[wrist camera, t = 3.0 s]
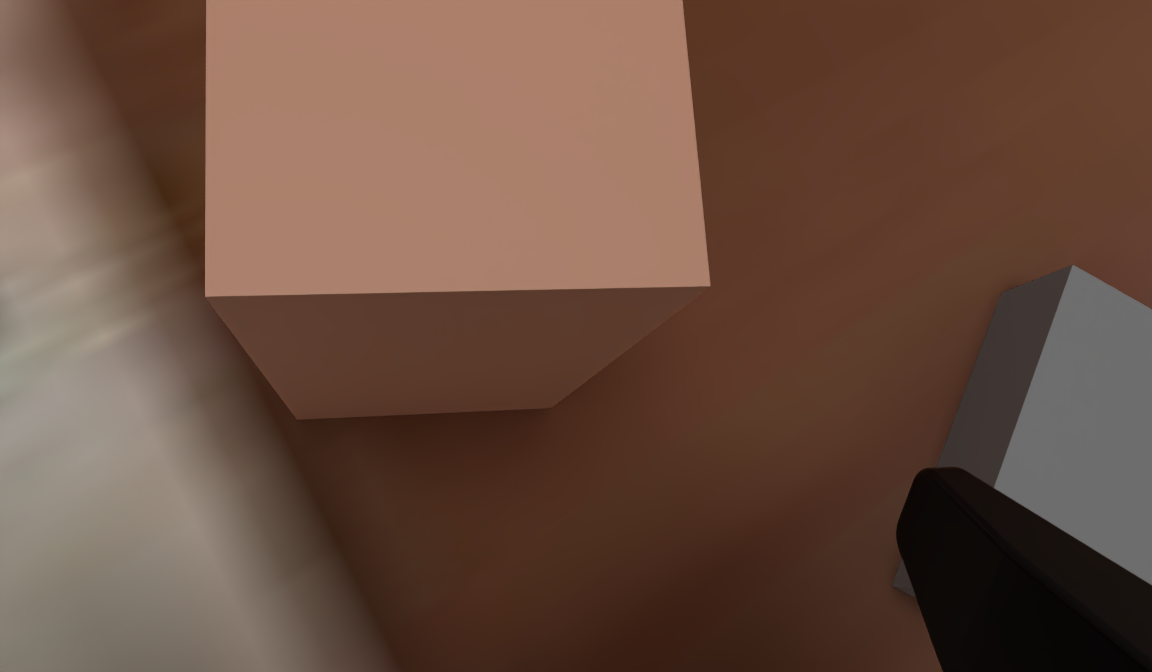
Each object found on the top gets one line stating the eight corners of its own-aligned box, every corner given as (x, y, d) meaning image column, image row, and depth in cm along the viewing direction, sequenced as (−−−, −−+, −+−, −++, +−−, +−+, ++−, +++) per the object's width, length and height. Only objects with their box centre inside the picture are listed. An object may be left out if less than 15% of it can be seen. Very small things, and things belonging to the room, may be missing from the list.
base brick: (1166, 733, 23) (1276, 760, 20) (884, 585, 23) (956, 591, 20) (1248, 439, 26) (1359, 426, 23) (992, 295, 25) (1072, 264, 22)
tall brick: (551, 408, 22) (709, 286, 11) (297, 420, 21) (205, 296, 10) (536, 176, 23) (669, -138, 12) (294, 175, 22) (207, -171, 11)
